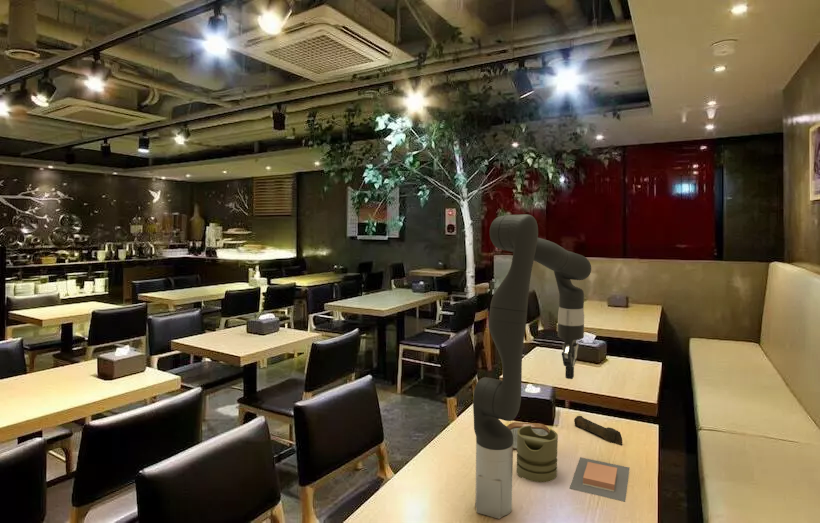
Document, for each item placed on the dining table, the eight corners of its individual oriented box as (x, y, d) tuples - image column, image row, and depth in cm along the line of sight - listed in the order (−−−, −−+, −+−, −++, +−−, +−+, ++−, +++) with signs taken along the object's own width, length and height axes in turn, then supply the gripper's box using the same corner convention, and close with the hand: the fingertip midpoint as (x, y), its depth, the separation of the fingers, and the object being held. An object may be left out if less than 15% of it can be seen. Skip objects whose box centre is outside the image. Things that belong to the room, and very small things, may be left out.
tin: (550, 448, 159) (551, 422, 159) (552, 452, 156) (552, 426, 156) (503, 446, 161) (503, 420, 160) (504, 450, 158) (504, 424, 157)
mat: (625, 503, 128) (625, 501, 128) (569, 490, 134) (569, 488, 134) (629, 468, 146) (629, 467, 146) (580, 458, 152) (580, 457, 152)
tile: (617, 474, 142) (614, 491, 133) (587, 468, 145) (582, 484, 136) (617, 467, 142) (614, 484, 133) (587, 461, 145) (583, 477, 136)
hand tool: (573, 426, 176) (573, 414, 176) (581, 424, 178) (581, 412, 177) (615, 449, 159) (616, 435, 159) (624, 446, 161) (625, 433, 160)
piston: (522, 422, 150) (560, 429, 145) (521, 460, 151) (559, 468, 146) (513, 437, 140) (554, 445, 135) (512, 478, 141) (553, 487, 136)
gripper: (579, 327, 141) (578, 386, 143) (587, 319, 153) (586, 373, 154) (553, 325, 145) (552, 382, 146) (562, 316, 156) (561, 370, 158)
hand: (569, 378), depth 150 cm, fingers closed
